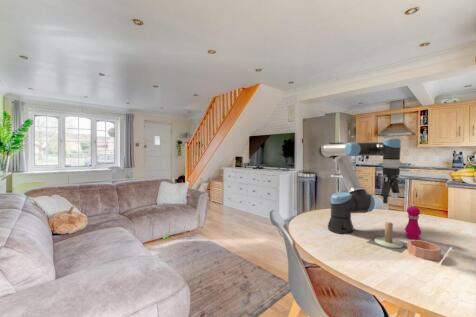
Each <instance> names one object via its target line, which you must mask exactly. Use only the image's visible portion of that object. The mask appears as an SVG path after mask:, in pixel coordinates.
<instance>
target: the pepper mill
mask: <svg viewBox="0 0 476 317" xmlns="http://www.w3.org/2000/svg"><path fill="white" fill-rule="evenodd" d="M406 213H407V218H408V222H407V224H406V226H405V229H404V232H405V233H406V234H405V237H406V238H407V239H409V240H421V236H420V235H422V230H421V228H420V226H419V222H418V221H419V219H420V215H421V210H420V208H418V207H416V204H414V203H413V204H411V206H409V207H407V209H406Z"/></svg>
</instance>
